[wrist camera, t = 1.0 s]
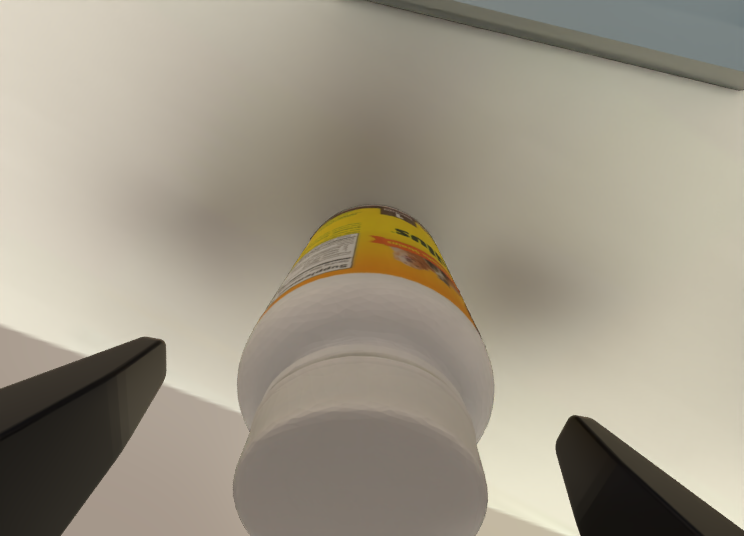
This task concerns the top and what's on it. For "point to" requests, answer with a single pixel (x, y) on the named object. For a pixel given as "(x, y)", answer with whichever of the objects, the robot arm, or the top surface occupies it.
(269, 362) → the supplement bottle
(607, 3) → the tray
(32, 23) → the top surface
